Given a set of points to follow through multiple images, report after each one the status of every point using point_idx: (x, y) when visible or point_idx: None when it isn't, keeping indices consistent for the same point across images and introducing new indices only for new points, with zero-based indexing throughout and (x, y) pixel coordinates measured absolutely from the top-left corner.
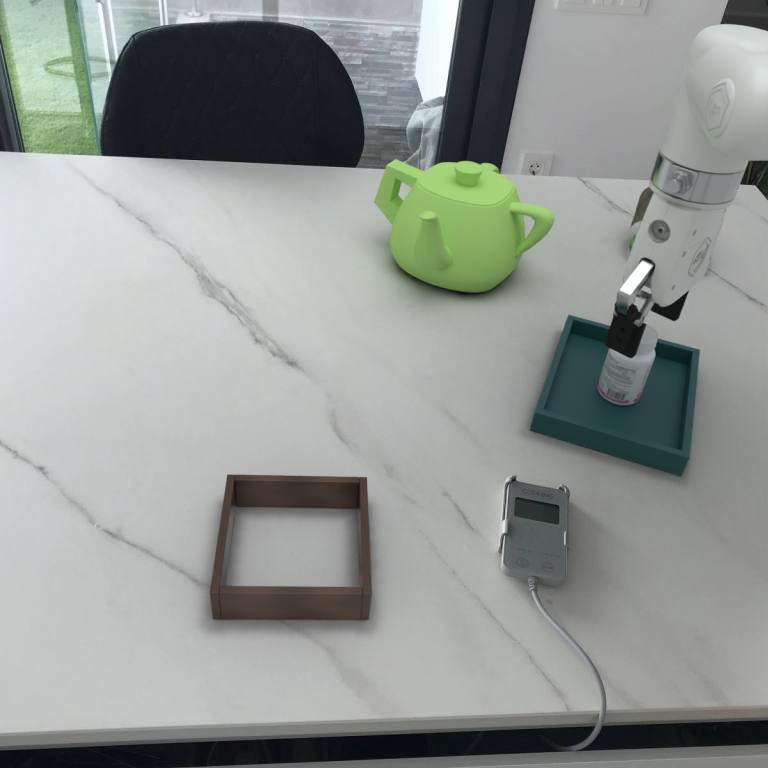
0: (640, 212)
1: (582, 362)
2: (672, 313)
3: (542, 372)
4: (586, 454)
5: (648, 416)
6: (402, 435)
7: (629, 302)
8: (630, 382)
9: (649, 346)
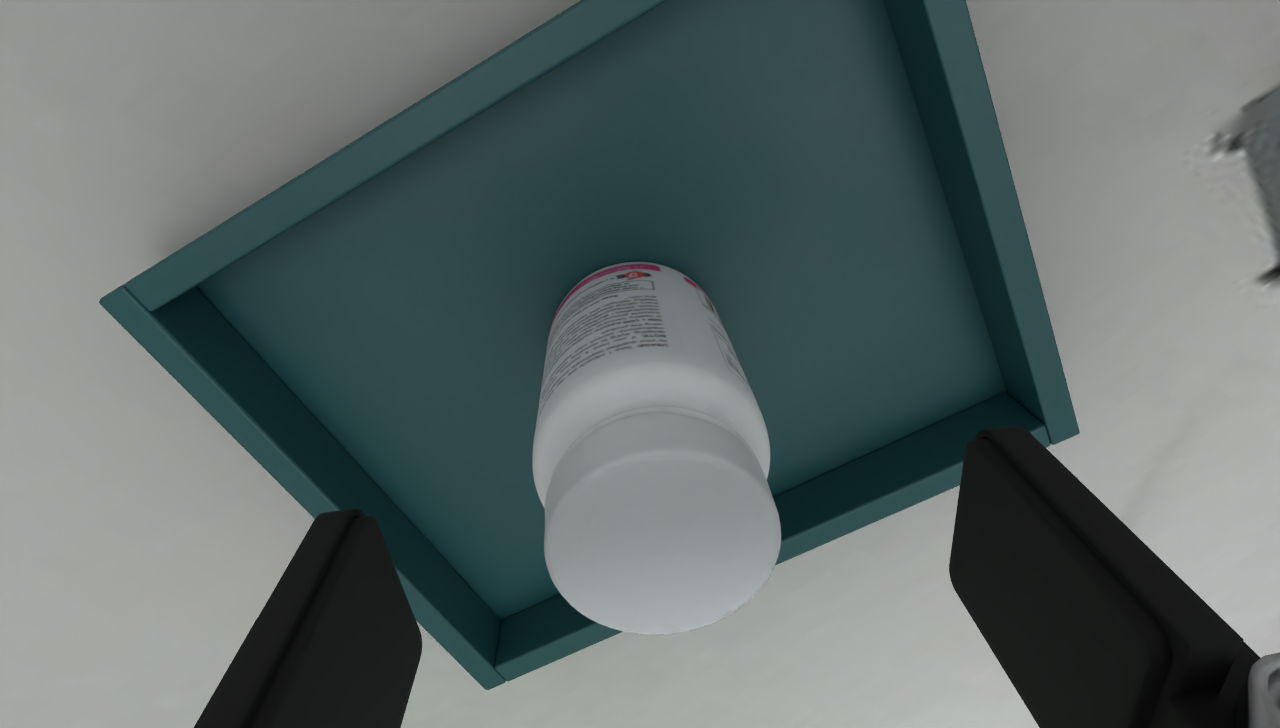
0: None
1: None
2: (366, 571)
3: None
4: None
5: (655, 178)
6: (1267, 554)
7: None
8: (720, 333)
9: (701, 438)
